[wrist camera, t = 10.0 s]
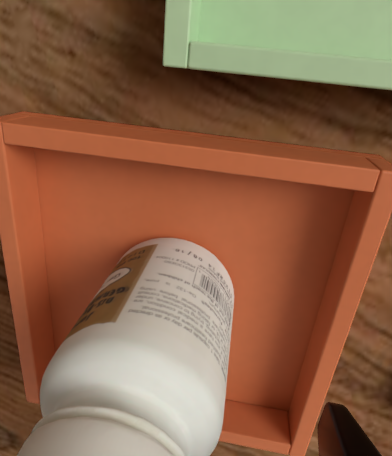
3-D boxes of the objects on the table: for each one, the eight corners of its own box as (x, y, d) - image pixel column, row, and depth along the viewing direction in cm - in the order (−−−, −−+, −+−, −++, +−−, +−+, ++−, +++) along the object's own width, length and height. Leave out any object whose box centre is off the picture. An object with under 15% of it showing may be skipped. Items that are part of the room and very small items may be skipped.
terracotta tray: (51, 365, 16) (26, 402, 14) (22, 110, 11) (-21, 119, 10) (298, 412, 15) (304, 459, 13) (380, 154, 10) (406, 173, 9)
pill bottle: (126, 217, 12) (-51, 428, 5) (251, 255, 12) (248, 527, 5) (107, 315, 14) (-40, 567, 7) (214, 349, 14) (174, 639, 7)
